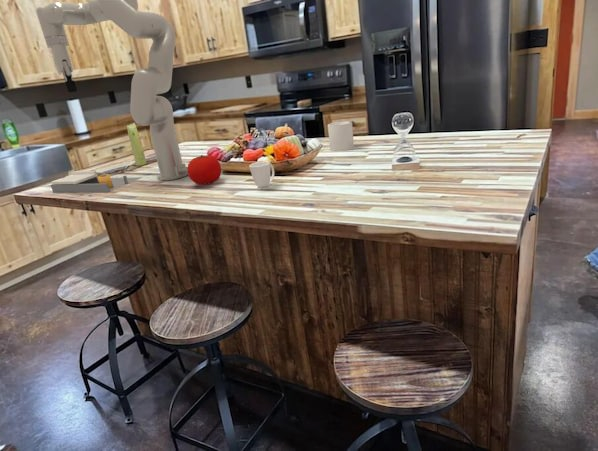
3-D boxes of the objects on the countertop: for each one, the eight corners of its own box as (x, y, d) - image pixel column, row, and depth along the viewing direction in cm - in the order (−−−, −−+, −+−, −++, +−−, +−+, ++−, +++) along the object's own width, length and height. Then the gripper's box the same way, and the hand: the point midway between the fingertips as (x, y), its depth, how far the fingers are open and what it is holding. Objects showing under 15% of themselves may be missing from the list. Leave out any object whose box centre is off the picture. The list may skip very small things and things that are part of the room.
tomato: (228, 178, 158) (222, 150, 154) (213, 188, 147) (207, 158, 143) (201, 179, 161) (195, 152, 157) (185, 189, 150) (178, 160, 147)
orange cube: (115, 185, 169) (111, 173, 167) (110, 188, 164) (106, 176, 162) (104, 186, 169) (100, 174, 167) (99, 190, 165) (95, 178, 163)
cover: (100, 183, 174) (96, 170, 172) (78, 191, 165) (74, 178, 163) (74, 183, 180) (70, 171, 178) (52, 191, 171) (48, 178, 169)
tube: (148, 164, 203) (137, 123, 196) (137, 166, 200) (126, 125, 193) (145, 162, 207) (134, 122, 200) (135, 165, 205) (123, 124, 198)
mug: (325, 147, 187) (322, 123, 183) (346, 143, 189) (344, 119, 185) (334, 152, 175) (331, 126, 171) (357, 148, 177) (355, 122, 173)
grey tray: (143, 177, 176) (140, 169, 175) (108, 193, 160) (105, 184, 159) (90, 179, 188) (88, 171, 187) (53, 193, 171) (50, 184, 170)
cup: (248, 190, 139) (244, 166, 136) (267, 181, 146) (263, 158, 144) (265, 191, 135) (261, 167, 132) (283, 182, 143) (279, 159, 140)
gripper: (45, 45, 166) (61, 93, 172) (47, 41, 154) (64, 93, 160) (66, 43, 169) (80, 90, 176) (69, 39, 157) (85, 90, 164)
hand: (72, 91), depth 168 cm, fingers closed
